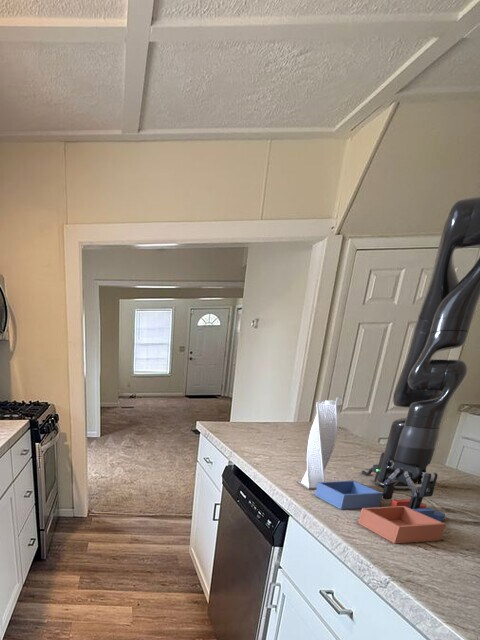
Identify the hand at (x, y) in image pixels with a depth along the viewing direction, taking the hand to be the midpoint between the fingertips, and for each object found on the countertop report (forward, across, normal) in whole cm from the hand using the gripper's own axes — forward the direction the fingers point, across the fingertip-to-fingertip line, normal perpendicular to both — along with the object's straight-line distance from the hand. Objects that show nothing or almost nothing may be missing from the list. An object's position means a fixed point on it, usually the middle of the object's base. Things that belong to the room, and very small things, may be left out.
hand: (399, 504), depth 107 cm
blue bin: (+2, +9, +8) cm, 12 cm away
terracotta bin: (+2, -12, +10) cm, 16 cm away
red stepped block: (+2, 0, -3) cm, 3 cm away
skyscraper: (+2, +22, +9) cm, 24 cm away
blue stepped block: (+2, -6, -2) cm, 7 cm away
